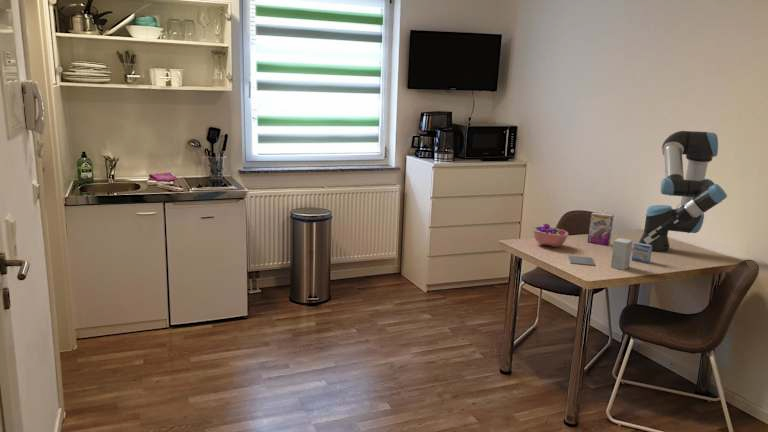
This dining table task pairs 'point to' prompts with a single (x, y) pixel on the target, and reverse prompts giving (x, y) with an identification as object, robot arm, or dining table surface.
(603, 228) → the candy bar box
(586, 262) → the slate coaster
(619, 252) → the small box
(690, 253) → the dining table surface
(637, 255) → the medicine box
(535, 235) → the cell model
